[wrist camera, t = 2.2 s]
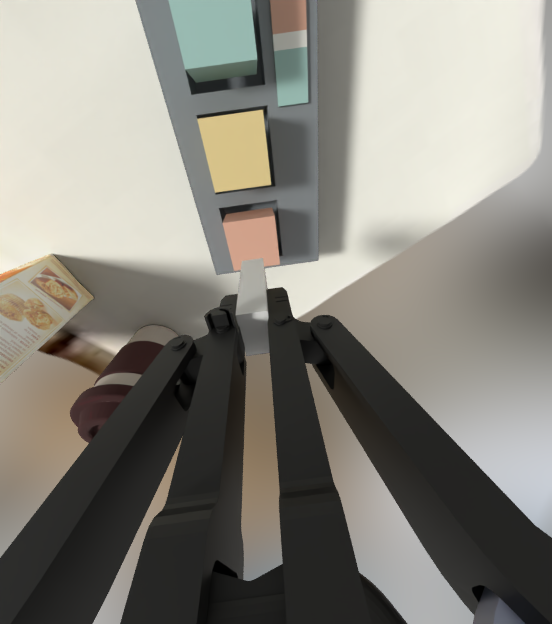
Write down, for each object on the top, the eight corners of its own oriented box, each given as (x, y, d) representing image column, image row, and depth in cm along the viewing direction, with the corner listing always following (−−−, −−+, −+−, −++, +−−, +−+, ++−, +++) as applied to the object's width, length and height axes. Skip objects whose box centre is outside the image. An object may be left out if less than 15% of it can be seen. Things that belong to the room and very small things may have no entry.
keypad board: (143, -20, 17) (114, -65, 13) (304, -43, 17) (318, -93, 13) (220, 261, 30) (216, 276, 26) (311, 248, 30) (319, 261, 26)
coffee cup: (161, 369, 41) (121, 464, 28) (111, 335, 35) (36, 433, 23) (204, 346, 38) (181, 438, 26) (158, 305, 33) (102, 397, 21)
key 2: (173, -18, 14) (154, -59, 12) (244, -28, 14) (242, -72, 12) (196, 82, 17) (185, 69, 14) (256, 74, 17) (257, 59, 14)
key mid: (205, 123, 19) (197, 118, 16) (261, 115, 19) (262, 109, 16) (220, 186, 21) (215, 192, 18) (268, 180, 21) (271, 184, 18)
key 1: (226, 213, 23) (222, 223, 20) (271, 207, 23) (274, 215, 20) (236, 257, 25) (234, 270, 23) (276, 251, 25) (280, 264, 23)
